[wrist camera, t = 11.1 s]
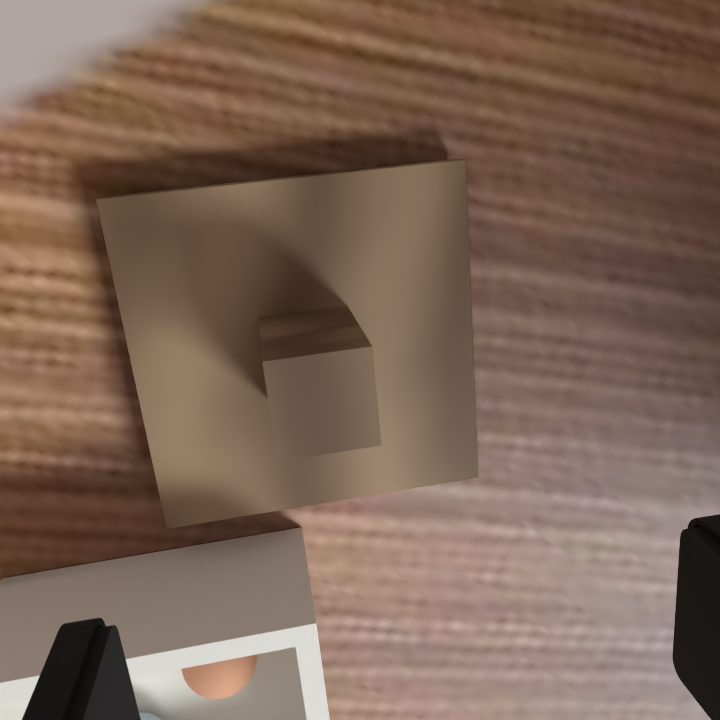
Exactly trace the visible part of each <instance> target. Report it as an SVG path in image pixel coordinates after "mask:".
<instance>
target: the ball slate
mask: <svg viewBox="0 0 720 720" xmlns="http://www.w3.org/2000/svg"><path fill="white" fill-rule="evenodd" d="M139 714H140V718H141V720H162V719H161V718H160V717H158V716H156V715H153V714H150V713H139Z"/></svg>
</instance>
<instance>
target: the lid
mask: <svg viewBox="0 0 720 720" xmlns="http://www.w3.org/2000/svg"><path fill="white" fill-rule="evenodd" d="M96 202H97V207H98V212H99V216H100V221H101V226H102V230H103V235H104V240H105V244H106V249H107V254H108V258H109V263H110V268H111V272H112V277H113V282H114V286H115V291H116V296H117V300H118V305H119V309H120V314H121V319H122V323H123V328H124V333H125V337H126V342H127V347H128V351H129V356H130V361H131V365H132V370H133V375H134V379H135V384H136V389H137V393H138V398H139V403H140V407H141V412H142V417H143V421H144V426H145V431H146V435H147V440H148V444H149V449H150V454H151V458H152V463H153V468H154V472H155V477H156V482H157V486H158V491H159V496H160V500H161V505H162V510H163V514H164V519H165V524H166V528H167V529H171V528H177V527H183V526H189V525H195V524H201V523H207V522H213V521H219V520H225V519H231V518H237V517H243V516H249V515H255V514H261V513H267V512H273V511H279V510H285V509H291V508H297V507H303V506H309V505H315V504H321V503H327V502H333V501H339V500H345V499H351V498H357V497H363V496H369V495H375V494H381V493H387V492H393V491H399V490H405V489H411V488H417V487H423V486H429V485H435V484H441V483H447V482H453V481H459V480H465V479H471V478H477V477H478V456H477V431H476V406H475V381H474V355H473V330H472V305H471V280H470V255H469V230H468V205H467V180H466V160H462V159H451V160H442V161H433V162H423V163H414V164H404V165H395V166H386V167H376V168H367V169H357V170H348V171H339V172H329V173H320V174H310V175H301V176H292V177H282V178H273V179H263V180H254V181H245V182H235V183H226V184H216V185H207V186H198V187H188V188H179V189H170V190H160V191H151V192H141V193H132V194H123V195H113V196H104V197H100V198H98V199H96Z"/></svg>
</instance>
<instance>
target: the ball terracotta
mask: <svg viewBox="0 0 720 720" xmlns="http://www.w3.org/2000/svg"><path fill="white" fill-rule="evenodd" d="M256 659H257V654H256V655H251V656H245V657H240V658H235V659H230V660H225V661H219V662H214V663H209V664H204V665H199V666H193V667H188V668H183V669H181V670H182V674H183V677H184V679H185V681H186V683H187V684H188V686H189V687H190V688H191V689H192V690H193V691H194V692H195V693H197V694H198V695H200V696H202V697H205V698H208V699H223V698H227V697H229V696H232V695H234V694H235V693H237V692H238V691H240V690H241V689H242V688H243V687H244V686H245V685H246V684H247V683H248V681H249V680H250V678H251V676H252V674H253V672H254V669H255V665H256Z"/></svg>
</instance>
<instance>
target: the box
mask: <svg viewBox="0 0 720 720" xmlns="http://www.w3.org/2000/svg"><path fill="white" fill-rule="evenodd" d="M94 618H102V619H103V621H104V622H105V625H106V626H111V625H115V626H116V627H117V628H118V631H119V635H120V639H121V643H122V647H123V651H124V655H125V659H126V663H127V667H128V671H129V675H130V679H131V683H132V687H133V691H134V695H135V699H136V702H137V706H138V710H139V713H150V714H153V715H156V716H158V717H160V718H161V719H162V720H330V719H329V712H328V705H327V698H326V691H325V683H324V676H323V669H322V662H321V655H320V647H319V640H318V633H317V626H316V619H315V612H314V606H313V599H312V593H311V586H310V579H309V573H308V566H307V560H306V553H305V546H304V540H303V533H302V527H300V528H294V529H288V530H283V531H277V532H271V533H265V534H259V535H253V536H247V537H242V538H236V539H230V540H224V541H218V542H212V543H206V544H201V545H195V546H189V547H183V548H177V549H171V550H165V551H160V552H154V553H148V554H142V555H136V556H130V557H124V558H119V559H113V560H107V561H101V562H95V563H89V564H83V565H78V566H72V567H66V568H60V569H54V570H48V571H42V572H37V573H31V574H25V575H19V576H13V577H7V578H2V579H1V581H0V720H22V718H23V715H24V713H25V711H26V708H27V706H28V703H29V701H30V698H31V696H32V694H33V691H34V689H35V686H36V684H37V681H38V679H39V677H40V674H41V672H42V669H43V667H44V664H45V662H46V660H47V657H48V655H49V652H50V650H51V647H52V645H53V642H54V640H55V638H56V635H57V633H58V630H59V629H60V627H61V625H63V624H64V623H70V622H76V621H82V620H88V619H94ZM256 654H257V659H256V665H255V669H254V672H253V674H252V676H251V678H250V680H249V681H248V683H247V684H246V685H245V686H244V687H243V688H242V689H241V690H240V691H238V692H237V693H235V694H234V695H232V696H229V697H227V698H223V699H208V698H205V697H202V696H200V695H198V694H197V693H195V692H194V691H193V690H192V689H191V688H190V687H189V686H188V684H187V683H186V681H185V679H184V677H183V674H182V670H181V669H183V668H188V667H193V666H199V665H204V664H209V663H214V662H219V661H225V660H230V659H235V658H240V657H245V656H251V655H256Z"/></svg>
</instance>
